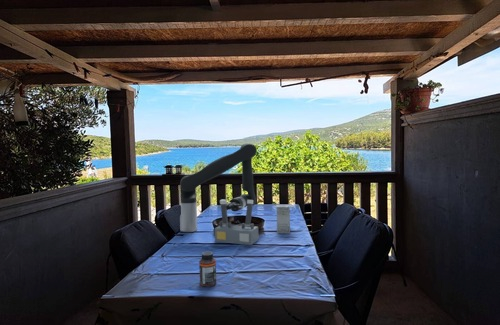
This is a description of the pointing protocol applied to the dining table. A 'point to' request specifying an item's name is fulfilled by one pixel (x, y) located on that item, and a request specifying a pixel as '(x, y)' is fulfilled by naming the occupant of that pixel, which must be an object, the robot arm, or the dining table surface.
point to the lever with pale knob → (224, 212)
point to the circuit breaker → (283, 219)
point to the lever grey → (248, 213)
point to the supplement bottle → (207, 269)
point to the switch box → (236, 234)
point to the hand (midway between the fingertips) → (224, 208)
